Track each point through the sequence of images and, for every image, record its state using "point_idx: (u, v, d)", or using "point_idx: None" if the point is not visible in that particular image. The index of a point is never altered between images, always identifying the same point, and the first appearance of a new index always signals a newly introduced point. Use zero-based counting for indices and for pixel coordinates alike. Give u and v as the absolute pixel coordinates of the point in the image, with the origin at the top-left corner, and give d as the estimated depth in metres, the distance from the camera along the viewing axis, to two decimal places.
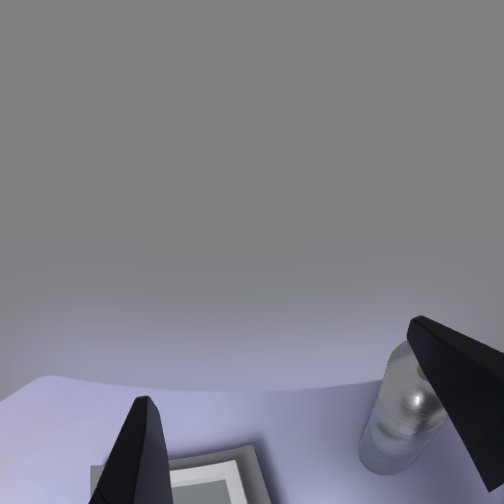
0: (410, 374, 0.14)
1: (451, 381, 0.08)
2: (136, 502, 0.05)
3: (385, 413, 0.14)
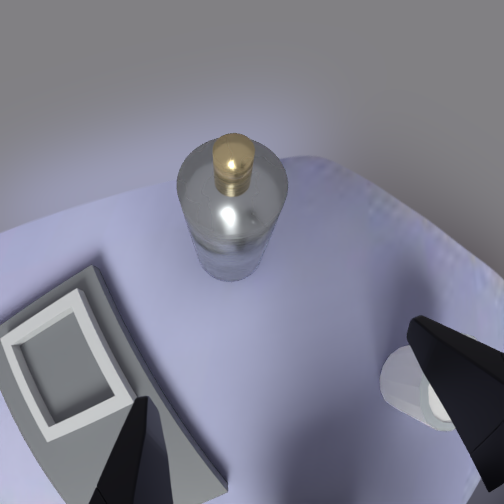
0: (205, 186, 0.14)
1: (451, 381, 0.08)
2: (136, 502, 0.05)
3: (190, 228, 0.15)
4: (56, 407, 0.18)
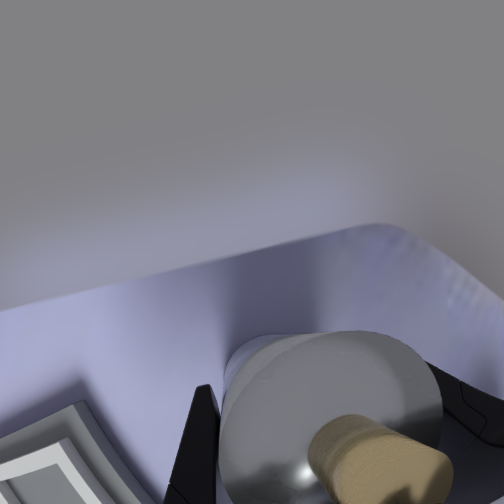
0: (287, 470, 0.05)
1: None
2: (217, 494, 0.05)
3: None
4: None
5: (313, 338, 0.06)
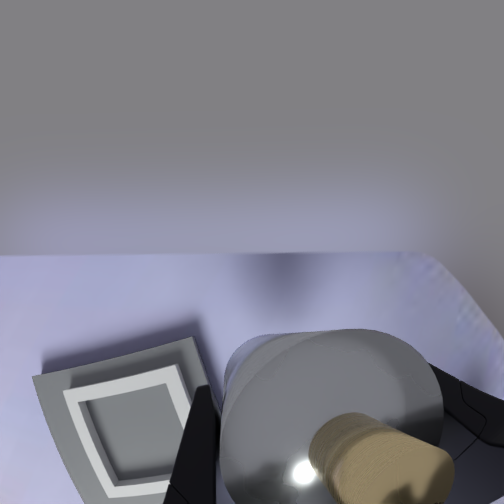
0: (288, 469, 0.05)
1: None
2: (217, 494, 0.05)
3: None
4: (123, 466, 0.17)
5: (314, 336, 0.06)
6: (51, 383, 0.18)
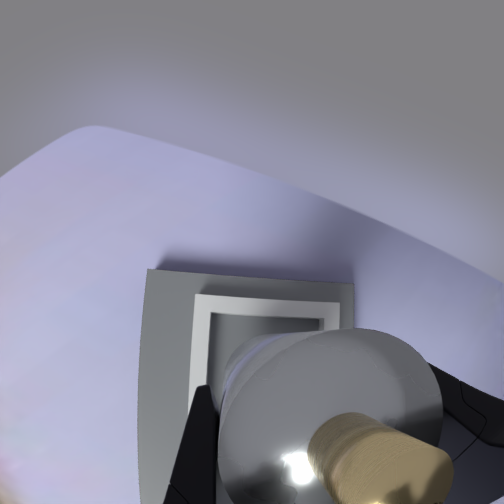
0: (287, 469, 0.05)
1: None
2: (217, 493, 0.05)
3: None
4: None
5: (312, 336, 0.06)
6: (173, 284, 0.20)
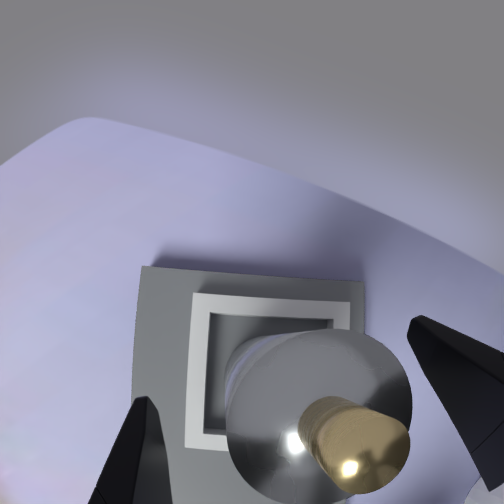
0: (282, 442, 0.06)
1: (451, 381, 0.08)
2: (135, 502, 0.05)
3: None
4: (221, 411, 0.16)
5: (301, 334, 0.07)
6: (169, 282, 0.18)
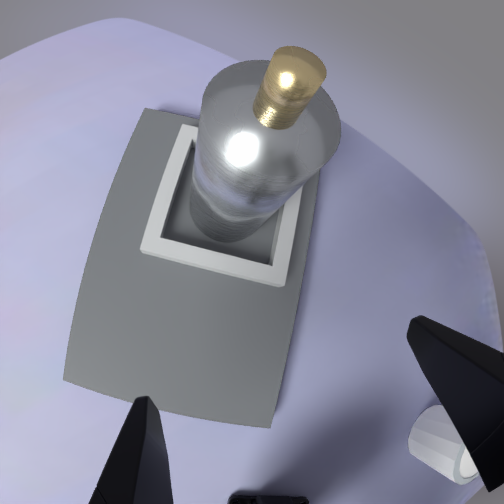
0: (240, 109, 0.10)
1: (451, 381, 0.08)
2: (136, 502, 0.05)
3: (202, 163, 0.12)
4: (180, 227, 0.20)
5: (263, 60, 0.10)
6: (163, 121, 0.21)
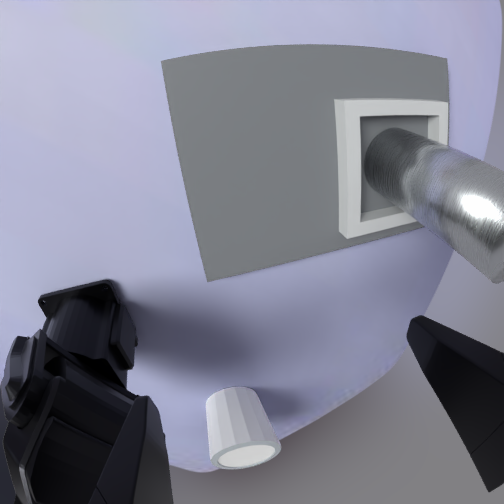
0: None
1: (451, 381, 0.08)
2: (136, 502, 0.05)
3: (474, 185, 0.11)
4: (365, 127, 0.18)
5: None
6: (441, 80, 0.17)
